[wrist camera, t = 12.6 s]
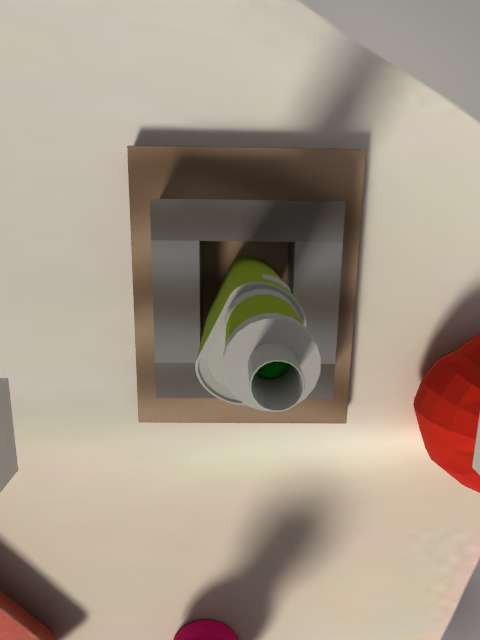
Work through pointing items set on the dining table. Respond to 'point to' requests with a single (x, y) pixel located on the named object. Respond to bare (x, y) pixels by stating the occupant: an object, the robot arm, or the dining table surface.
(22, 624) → the plant saucer
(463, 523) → the dining table surface
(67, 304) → the dining table surface
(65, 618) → the dining table surface
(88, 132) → the dining table surface
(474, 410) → the tomato
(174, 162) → the charging dock
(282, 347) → the vape
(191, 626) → the pepper mill
